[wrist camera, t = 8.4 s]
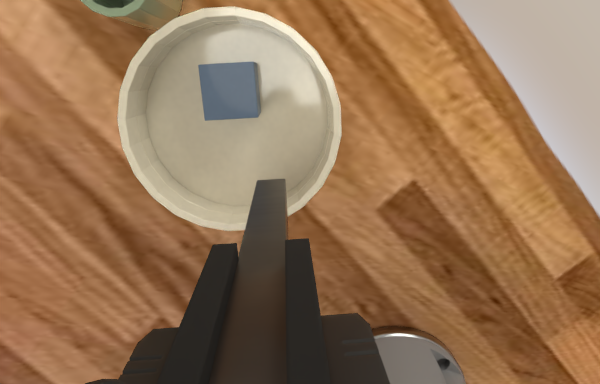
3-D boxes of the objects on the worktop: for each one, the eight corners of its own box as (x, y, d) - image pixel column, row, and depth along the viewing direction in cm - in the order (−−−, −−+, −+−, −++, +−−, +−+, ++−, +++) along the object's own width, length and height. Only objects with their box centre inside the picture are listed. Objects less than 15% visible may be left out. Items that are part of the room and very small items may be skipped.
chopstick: (287, 205, 23) (299, 583, 6) (259, 207, 23) (190, 591, 6) (285, 178, 23) (293, 501, 6) (256, 179, 23) (174, 510, 6)
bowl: (335, 202, 38) (344, 223, 33) (158, 214, 37) (137, 237, 32) (329, 12, 33) (338, 0, 28) (127, 23, 33) (98, 13, 28)
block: (261, 112, 35) (258, 117, 31) (213, 115, 34) (204, 120, 31) (257, 62, 33) (253, 61, 30) (207, 65, 33) (197, 64, 30)
